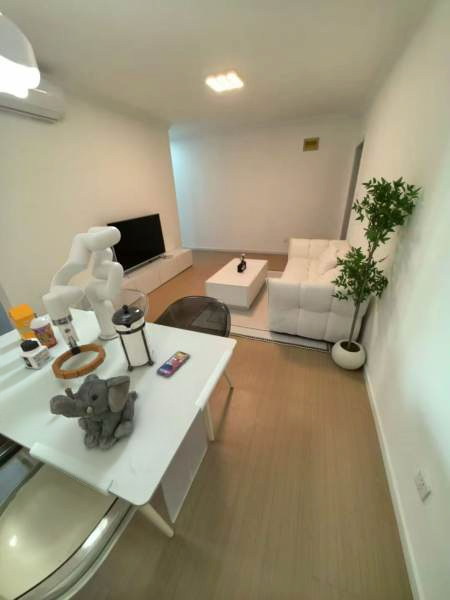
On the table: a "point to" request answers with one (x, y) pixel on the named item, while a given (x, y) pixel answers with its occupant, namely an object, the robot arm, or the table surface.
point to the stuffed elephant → (100, 409)
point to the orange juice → (23, 320)
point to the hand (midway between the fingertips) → (76, 352)
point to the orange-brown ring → (83, 370)
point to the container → (34, 354)
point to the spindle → (70, 393)
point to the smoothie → (43, 331)
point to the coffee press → (132, 336)
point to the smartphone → (173, 363)
